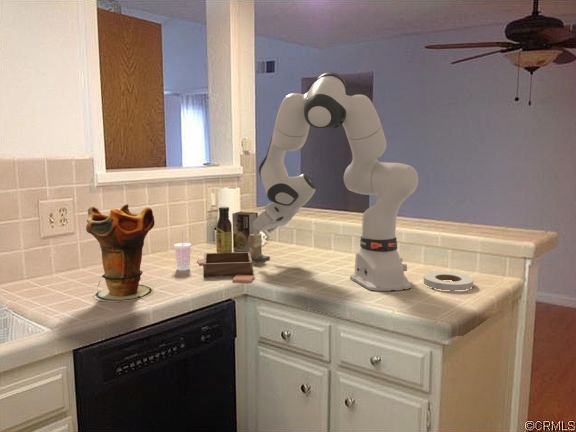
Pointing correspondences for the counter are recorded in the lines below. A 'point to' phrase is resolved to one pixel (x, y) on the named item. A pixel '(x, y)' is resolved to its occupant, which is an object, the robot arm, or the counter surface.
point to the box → (227, 264)
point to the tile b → (243, 278)
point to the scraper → (256, 248)
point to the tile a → (200, 261)
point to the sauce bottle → (224, 232)
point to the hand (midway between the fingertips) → (261, 233)
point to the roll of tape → (458, 281)
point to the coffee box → (242, 229)
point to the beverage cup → (182, 255)
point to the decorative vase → (121, 251)
